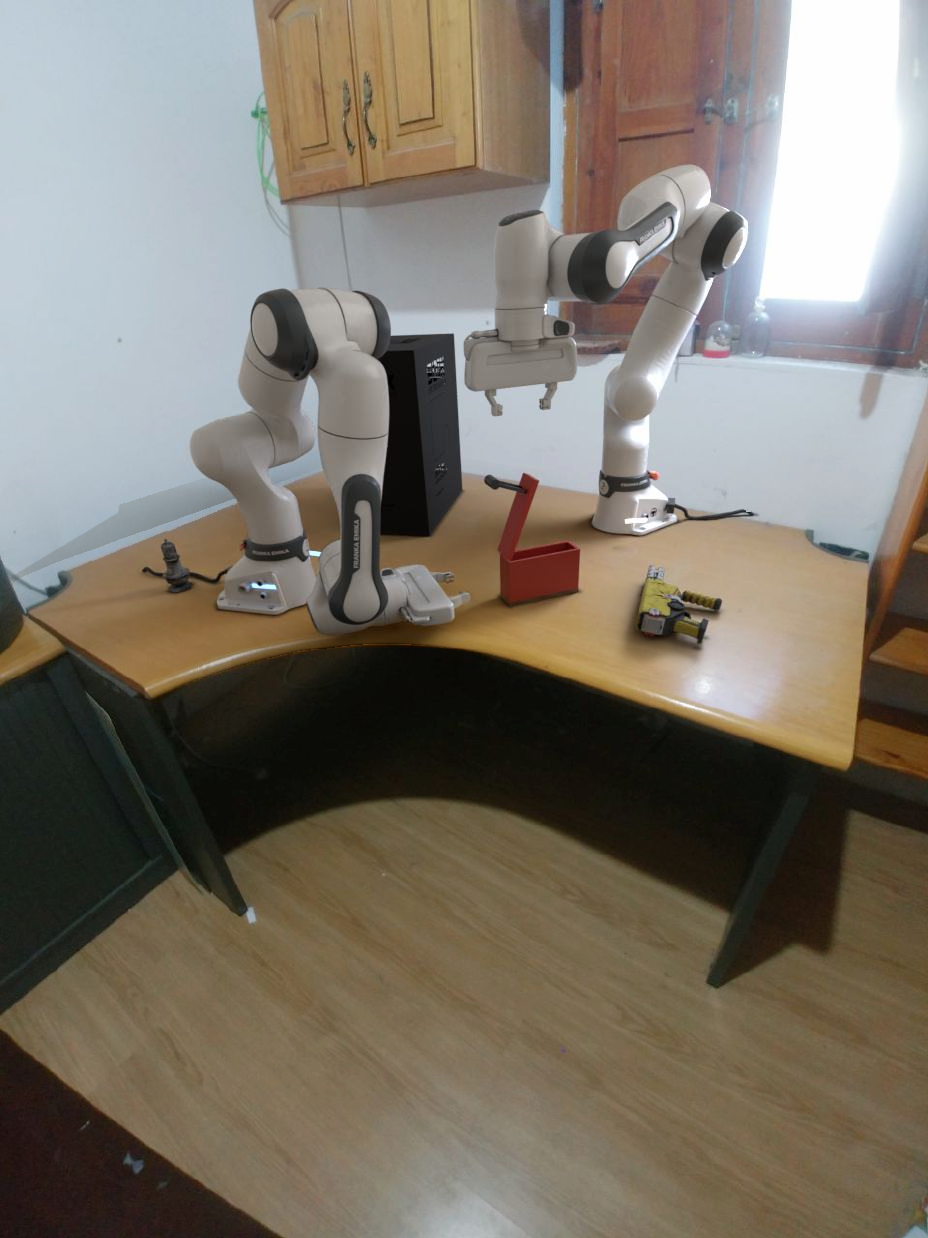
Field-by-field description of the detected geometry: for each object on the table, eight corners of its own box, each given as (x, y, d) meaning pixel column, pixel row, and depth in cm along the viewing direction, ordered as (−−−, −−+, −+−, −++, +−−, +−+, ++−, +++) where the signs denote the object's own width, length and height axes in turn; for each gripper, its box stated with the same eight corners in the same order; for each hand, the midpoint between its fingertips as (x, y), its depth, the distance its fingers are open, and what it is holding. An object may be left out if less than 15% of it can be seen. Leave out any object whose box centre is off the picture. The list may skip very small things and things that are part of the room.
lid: (528, 473, 117) (487, 463, 113) (539, 480, 113) (497, 469, 109) (501, 550, 123) (462, 543, 119) (511, 560, 119) (470, 552, 115)
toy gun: (723, 575, 124) (648, 562, 128) (727, 629, 104) (638, 612, 108) (717, 595, 126) (644, 582, 130) (720, 652, 106) (633, 634, 110)
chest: (567, 581, 132) (568, 540, 127) (578, 591, 128) (580, 548, 123) (500, 595, 128) (499, 553, 123) (509, 606, 124) (509, 562, 119)
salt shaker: (184, 593, 136) (168, 544, 130) (161, 592, 138) (145, 543, 132) (199, 581, 141) (184, 533, 135) (177, 580, 143) (161, 533, 137)
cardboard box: (429, 535, 159) (413, 350, 136) (357, 532, 163) (331, 352, 141) (462, 490, 190) (453, 333, 168) (401, 488, 195) (385, 335, 172)
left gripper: (406, 609, 107) (479, 593, 110) (380, 565, 123) (444, 553, 127) (409, 639, 110) (480, 623, 114) (383, 592, 127) (446, 579, 130)
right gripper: (469, 333, 96) (473, 422, 103) (583, 323, 101) (579, 408, 108) (456, 330, 101) (460, 416, 108) (565, 321, 106) (563, 403, 113)
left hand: (460, 585), depth 121 cm, fingers open, 8 cm apart
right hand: (521, 412), depth 108 cm, fingers open, 8 cm apart
